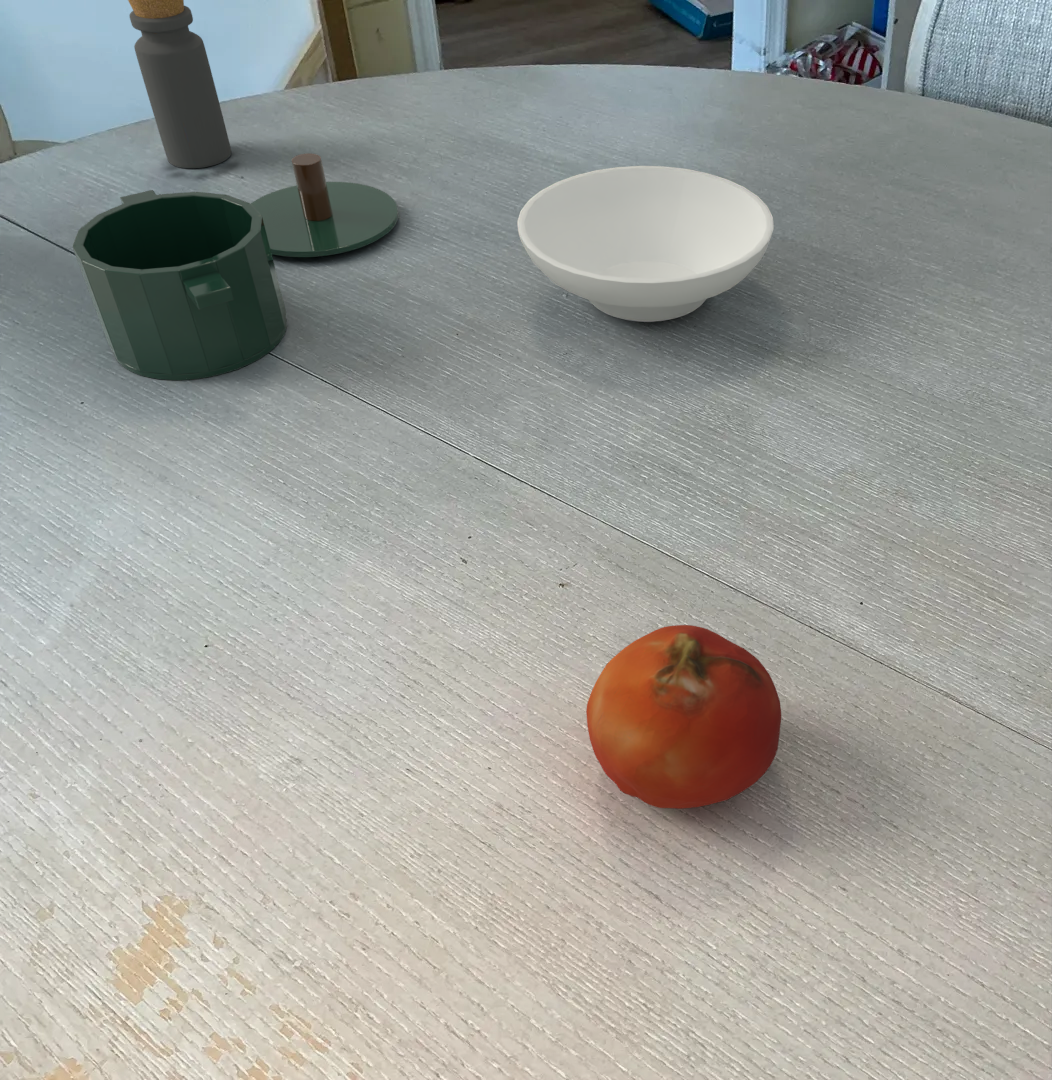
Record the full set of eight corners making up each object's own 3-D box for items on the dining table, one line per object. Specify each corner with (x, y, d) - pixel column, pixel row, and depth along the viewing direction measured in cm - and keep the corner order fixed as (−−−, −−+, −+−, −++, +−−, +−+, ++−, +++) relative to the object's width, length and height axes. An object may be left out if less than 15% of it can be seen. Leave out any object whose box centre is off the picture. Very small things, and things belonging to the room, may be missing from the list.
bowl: (482, 337, 89) (472, 255, 85) (580, 226, 103) (576, 151, 99) (728, 385, 85) (731, 301, 81) (795, 262, 99) (801, 186, 95)
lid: (272, 279, 95) (254, 208, 91) (218, 216, 103) (199, 149, 99) (425, 237, 101) (415, 169, 97) (362, 180, 109) (350, 115, 105)
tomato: (553, 783, 58) (541, 674, 53) (661, 670, 64) (660, 562, 59) (707, 876, 55) (711, 769, 49) (808, 747, 60) (820, 639, 55)
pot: (151, 418, 81) (112, 309, 75) (84, 307, 91) (45, 204, 86) (325, 363, 86) (301, 257, 80) (242, 264, 97) (216, 165, 91)
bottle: (154, 164, 111) (103, -4, 101) (189, 140, 115) (144, -23, 105) (210, 172, 110) (164, 3, 100) (244, 147, 114) (202, -17, 104)
